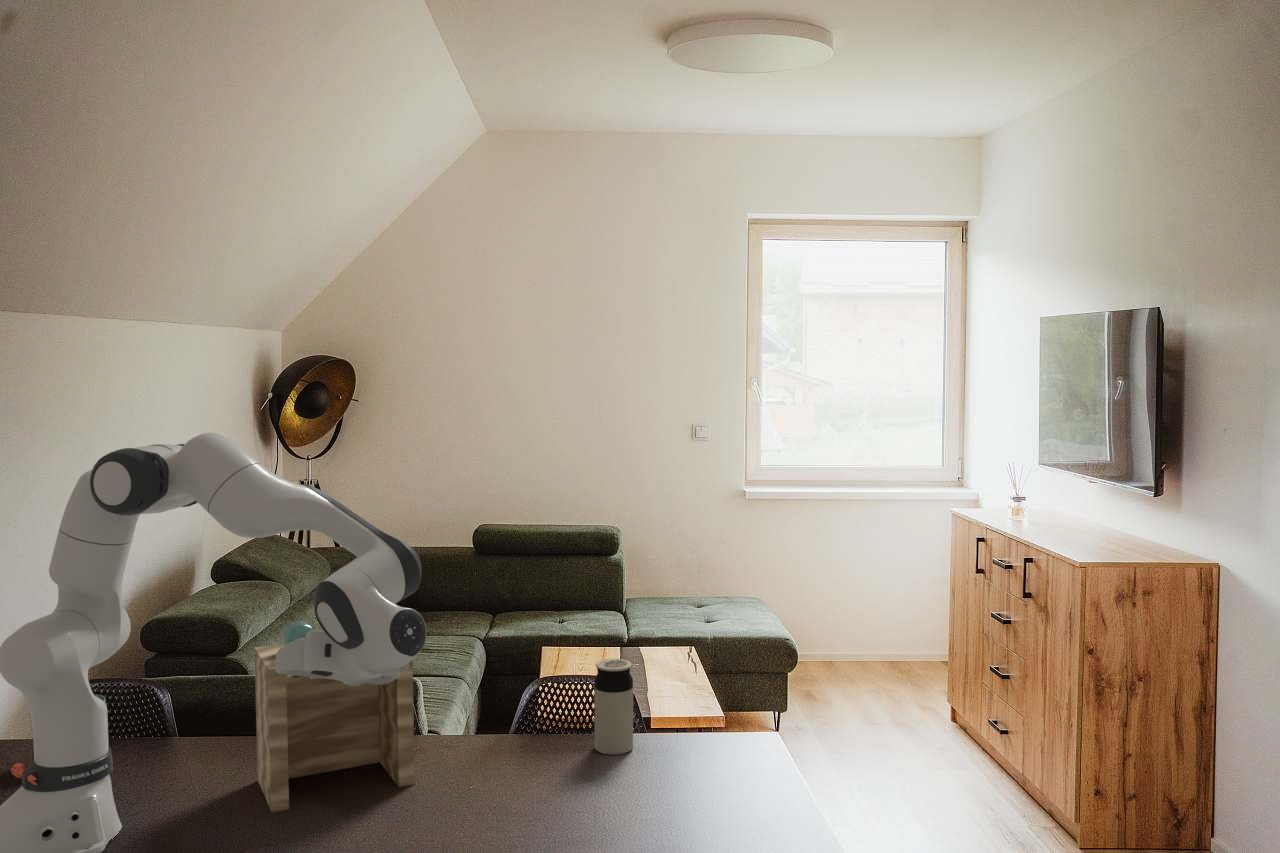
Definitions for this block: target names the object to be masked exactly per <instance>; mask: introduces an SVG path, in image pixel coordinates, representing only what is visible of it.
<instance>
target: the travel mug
mask: <svg viewBox="0 0 1280 853" xmlns="http://www.w3.org/2000/svg"><path fill="white" fill-rule="evenodd" d="M632 665H633V664H632V662H631V661H629V660H626V659H622V658H606V659H602V660H598V661H597V662H596V663H595V667H596V670H597V671H596V672H597V674H596V676H595V677H594V680H593V681H594V685H593V686H594V749H595V750H596V751H597V752H599V753H601V754H603V755H610V756H616V755H617V756H618V755H624V754H626V753H628V752H630V751H632V750H633V748H634V678H633V677H632V675H631V673H630V672H631V668H632Z"/></svg>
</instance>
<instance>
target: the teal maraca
mask: <svg viewBox="0 0 1280 853" xmlns="http://www.w3.org/2000/svg"><path fill="white" fill-rule="evenodd" d="M310 631H316V630H315V629H314V628H313V627H312V626H311V625H310V624H309V623H308V622H307V621H304V620H294V621H291V622H289V623H288V624H287V625H286V626H285V628H284V629H283V631H282V634H281V635H282V636H281V637H282V642H283V644H285V645H287V644H289V643H291V642H293V641H295V640H298V639H302V638H306V634H307V633H308V632H310ZM309 678H310V679H313V678H314V677H309Z"/></svg>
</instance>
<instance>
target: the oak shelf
mask: <svg viewBox="0 0 1280 853" xmlns="http://www.w3.org/2000/svg"><path fill="white" fill-rule="evenodd" d="M284 646H285V644H284V643H281V644H273V645H265V646H257V647H254V673H255V674H254V676H255V677H254V679H255V680H254V681H255V682H254V683H255V723H256V724H255V726H256V727H255V728H256V763H257V764H256V765H257V782H258V785H259V784H260V785H259V787H260V786H261V787H260V789H261V788H262V789H261V791H263V792H262V793H264V794H263V796H264V795H265V796H264V798H265V800H267V801H266V803H267V805H268V807H270V808H269V809H270V812H271V813H275V812H282V811H286V810H289V809H290V790H289V787H290V784H289V780H290V778H291V779H296V778H301V776H302V777H307V776H311V775H319V774H322V773H323V774H324V773H328V772H329V773H330V772H333V771H339V770H345V769H349V768H350V769H351V768H356V767H361V766H367V765H372V764H377V763H380V764H381V766H382V765H383V766H382V767H383V769H385V771H386V772H387V773H389V774H388V776H390V778H391V777H392V778H391V779H392V780H393V781H395V782H394V783H395V784H396V786H397V787H398V788H402V787H408V786H414V785H415V736H414V735H415V730H414V729H415V728H414V726H415V725H414V662H413V660H414V659H413V660H412V661H410V662H409V668H408V669H405V670H403V671H400V672H399V677H398V678H396V679H395V680H393V681H392V682H390V683H388V684H384V685H376V684H367V683H365V684H362V685H358V686H351V685H347V684H344V683H340V682H339V681H338V680H332V679H323V678H313V679H310V678H309V677H305V676H299V677H297V678H291V677H287V674H279V673H277V672H276V670H275V661H276V654H277V651H278V650H279V649H280V648H282V647H284Z"/></svg>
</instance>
